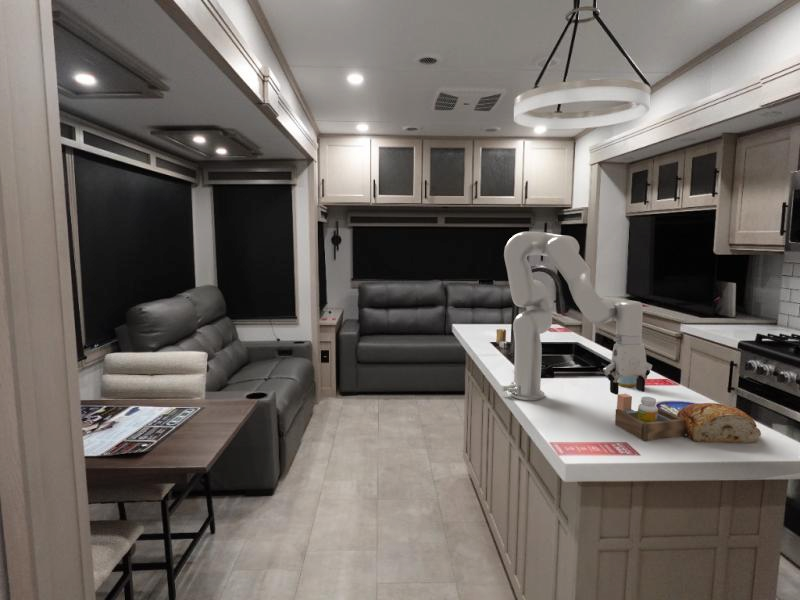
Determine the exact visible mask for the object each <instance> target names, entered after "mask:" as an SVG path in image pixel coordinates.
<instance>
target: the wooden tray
mask: <svg viewBox="0 0 800 600" xmlns="http://www.w3.org/2000/svg"><path fill="white" fill-rule="evenodd" d="M657 408H658V414H660V415H662V416H664V417H667V418H669V419H671V420H666V421H657V422H647V423H645V422H643V421H641V420H639V419H638V418H636V417H634V416H632V415H630V414H628V413H626V412H624V411H622V410H620V409H617V408H616V409H615V412H614V413H615V416H614V417H615V418H614V426H617V427H618V428H620V429H621V430H623V431H625V432H627V433H629V434H630V435H632V436H634V437H636V438H638V439H639V440H641V441H642V442H648V441H649V442H650V441H658V440H665V439H674V438H675V439H676V438H683V437H684V438H685V437H686V435H685V428H686V420H685V419H682V418H680V417H678V416H677V415H676V414H674V413H671V412H669V411H667V410H665V409H662V408H660V407H658V406H657Z"/></svg>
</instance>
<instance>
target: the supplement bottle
mask: <svg viewBox="0 0 800 600" xmlns="http://www.w3.org/2000/svg"><path fill="white" fill-rule="evenodd" d="M656 404H657V400H656V398H654V397H651V396H642V397H640V404H638V407H637V411H638V419H639V420H641V421H643V422H645V423H647V422H657V417H658V408H659V407H658V406H657V405H656ZM657 407H658V408H657Z"/></svg>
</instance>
